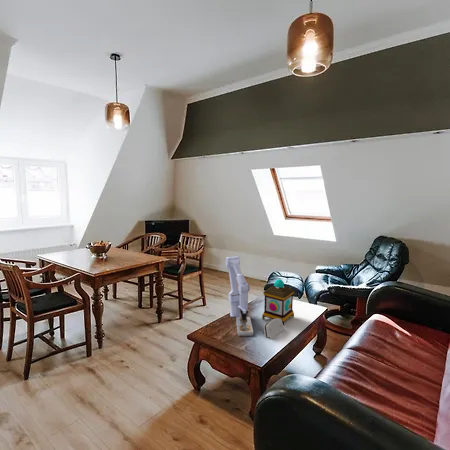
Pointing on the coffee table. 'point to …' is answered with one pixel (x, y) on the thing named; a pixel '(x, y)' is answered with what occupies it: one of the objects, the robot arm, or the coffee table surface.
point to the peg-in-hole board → (244, 327)
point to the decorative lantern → (278, 302)
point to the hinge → (273, 328)
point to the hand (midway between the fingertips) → (243, 318)
